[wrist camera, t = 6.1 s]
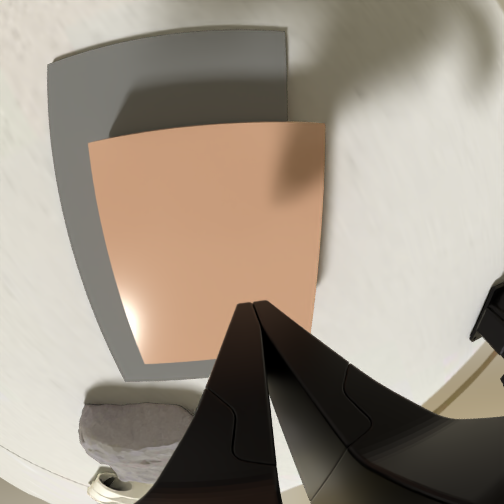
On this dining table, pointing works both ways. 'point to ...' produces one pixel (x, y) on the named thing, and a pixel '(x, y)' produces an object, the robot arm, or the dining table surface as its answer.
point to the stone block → (133, 437)
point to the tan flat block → (210, 227)
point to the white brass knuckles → (117, 490)
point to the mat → (145, 119)
